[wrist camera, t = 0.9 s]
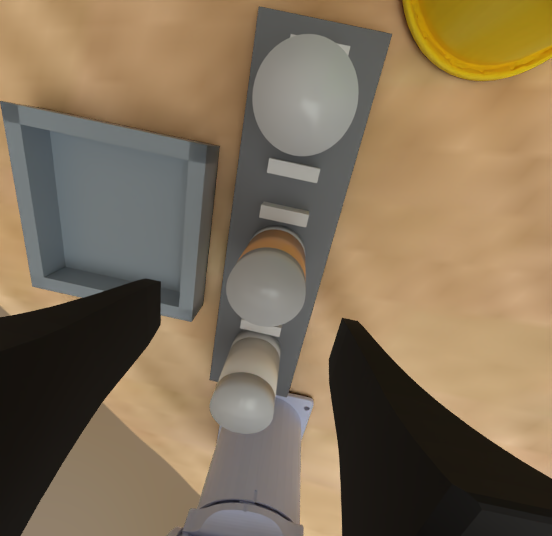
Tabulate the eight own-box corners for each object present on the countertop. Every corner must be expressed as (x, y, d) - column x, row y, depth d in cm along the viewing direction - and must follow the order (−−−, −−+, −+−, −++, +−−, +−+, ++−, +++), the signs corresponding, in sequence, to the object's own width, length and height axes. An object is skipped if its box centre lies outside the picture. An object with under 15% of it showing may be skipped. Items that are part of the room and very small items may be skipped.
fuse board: (287, 390, 25) (286, 409, 23) (212, 373, 25) (205, 390, 24) (388, 39, 15) (399, 24, 13) (261, 13, 15) (254, -6, 13)
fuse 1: (275, 372, 24) (266, 439, 18) (229, 361, 24) (206, 425, 18) (285, 334, 22) (278, 395, 16) (236, 323, 22) (213, 380, 17)
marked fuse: (298, 284, 20) (295, 333, 15) (244, 272, 20) (221, 317, 15) (311, 231, 19) (314, 265, 13) (253, 219, 19) (231, 247, 13)
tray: (203, 304, 23) (191, 321, 20) (59, 272, 23) (32, 286, 20) (219, 146, 18) (206, 145, 16) (38, 107, 18) (0, 101, 16)
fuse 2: (329, 161, 17) (341, 165, 11) (265, 147, 17) (245, 144, 11) (349, 84, 15) (373, 46, 10) (277, 69, 15) (262, 23, 10)
